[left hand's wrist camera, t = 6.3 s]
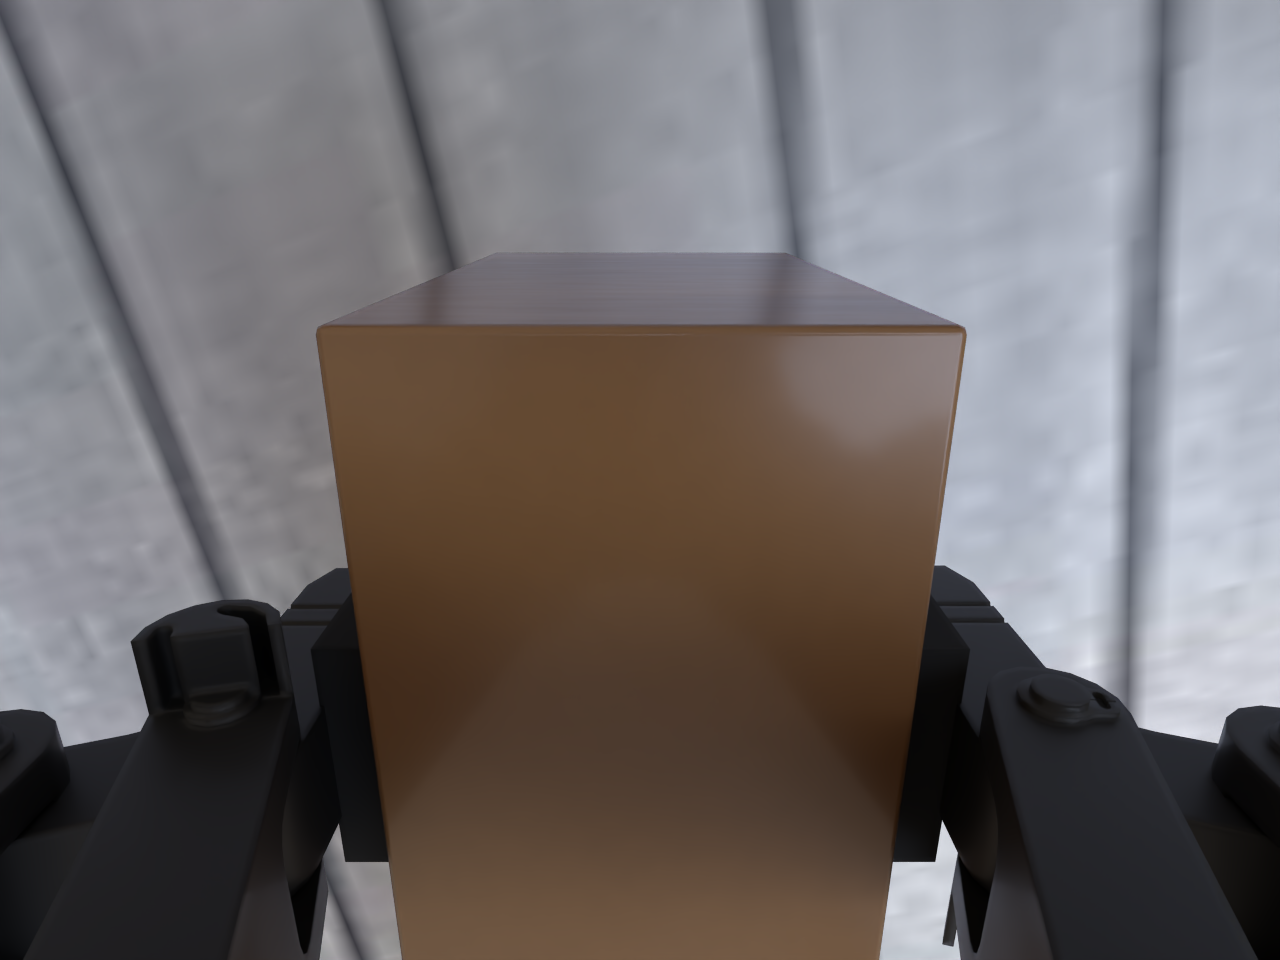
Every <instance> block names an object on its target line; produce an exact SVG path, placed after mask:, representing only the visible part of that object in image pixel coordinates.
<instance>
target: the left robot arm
mask: <svg viewBox="0 0 1280 960" xmlns="http://www.w3.org/2000/svg"><path fill="white" fill-rule="evenodd" d="M131 645H132V649H133V653H134V657H135V661H136V665H137V669H138V673H139V676H140V680H141V684H142V688H143V692H144V696H145V700H146V704H147V708H148V712H149V716H148V718H147V720H146V722H145V724H144V726H143V728H142V730H141V732H137V733H133V734H129V735H124V736H119V737H114V738H109V739H103V740H98V741H93V742H88V743H83V744H78V745H72V746H67V747H63V744H62V741H61V738H60V734H59V731H58V728H57V724H56V721H55V720H53V719H52V718H51V717H49V716H48V715H47V714H45V713H44V712H39V711H31V710H23V709H19V710H10V711H1V712H0V960H319V959H320V951H321V943H322V936H323V928H324V920H325V912H326V905H327V897H328V886H327V879H326V872H325V867H324V861H323V855H324V853H325V851H326V849H327V847H328V845H329V843H330V840H331V838H332V836H333V834H334V832H335V830H336V828H337V826H338V824H339V826H340V832H341V838H342V844H343V850H344V856H345V862H389V860H388V853H387V845H386V838H385V831H384V824H383V816H382V809H381V802H380V795H379V787H378V780H377V773H376V766H375V758H374V751H373V744H372V737H371V729H370V722H369V715H368V708H367V700H366V693H365V686H364V679H363V671H362V664H361V657H360V650H359V642H358V635H357V628H356V621H355V613H354V606H353V599H352V592H351V584H350V577H349V570H348V568H336V569H334V570H332V571H331V572H329V573H327V574H326V575H324V576H322V577H321V578H319V579H317V580H316V581H314V582H312V583H310V584H309V585H307V586H306V588H305V589H304V590H303V591H302V592H301V594H300V595H299V596H298V597H297V598H296V600H295V601H294V602H293V603H292V604H291V609H287V610H286V611H285V613H284V614H283V615H282V616H281V617H280V612H279V611H278V610H276V609H275V608H273V607H272V606H271V605H269V604H268V603H263V602H258V601H253V600H221V601H216V602H211V603H205V604H200V605H195V606H192V607H189V608H186V609H183V610H180V611H178V612H175V613H172V614H169V615H167V616H165V617H163V618H161V619H159V620H158V621H156V622H154V623H152V624H150V625H149V626H147V627H145V628H144V629H143V630H142V631H141V632H140V633H139V634H138V635H137V636H136V637H135V638H134V639H133V640H132V641H131ZM942 820H943V822H944V825H945V827H946V829H947V831H948V833H949V835H950V837H951V839H952V841H953V843H954V845H955V848H956V850H957V852H958V855H957V861H956V867H955V872H954V878H953V884H952V889H951V895H950V901H949V906H948V912H947V918H946V923H945V929H944V936H943V943H942V944H943V945H948V946H954V940H955V935H956V930H957V934H958V941H959V949H960V957H961V960H1280V708H1278V707H1269V706H1254V707H1246V708H1238V709H1237V710H1236V711H1234V712H1233V713H1232V714H1230V715H1229V716H1228V717H1226V720H1225V724H1224V727H1223V730H1222V734H1221V737H1220V740H1219V743H1218V744H1217V743H1212V742H1206V741H1201V740H1196V739H1191V738H1186V737H1180V736H1175V735H1170V734H1165V733H1159V732H1154V731H1150V730H1146V729H1142V728H1138V726H1137V724H1136V722H1135V720H1134V719H1133V717H1132V715H1131V713H1130V712H1129V711H1128V710H1127V708H1126V707H1125V706H1124V705H1123V704H1122V702H1121V701H1120V700H1119V699H1118V698H1117V697H1116V696H1114V695H1112V694H1111V693H1109V692H1108V691H1106V690H1105V689H1103V688H1102V687H1100V686H1099V685H1097V684H1095V683H1093V682H1091V681H1088V680H1086V679H1083V678H1081V677H1078V676H1076V675H1073V674H1071V673H1067V672H1062V671H1058V670H1053V669H1049V668H1046V667H1045V666H1044V665H1043V664H1042V663H1041V662H1040V660H1039V659H1038V658H1037V657H1036V656H1035V654H1034V653H1033V652H1032V651H1031V650H1030V649H1029V647H1028V646H1027V645H1026V644H1025V643H1024V641H1023V640H1022V639H1021V638H1020V637H1019V636H1018V634H1017V633H1016V632H1015V631H1014V630H1013V628H1012V627H1011V626H1010V625H1009V624H1008V623H1004V618H1003V617H1002V616H1001V614H1000V613H999V612H998V611H997V610H996V608H995V607H994V606H990V601H989V600H988V599H987V598H986V597H985V595H984V594H983V593H982V592H981V591H980V590H979V588H978V587H977V586H976V585H975V584H974V582H972V581H970V580H968V579H967V578H965V577H963V576H962V575H960V574H958V573H956V572H955V571H953V570H951V569H950V568H948V567H946V566H934V571H933V579H932V586H931V593H930V600H929V607H928V614H927V621H926V628H925V636H924V643H923V650H922V657H921V664H920V671H919V678H918V685H917V693H916V700H915V707H914V714H913V721H912V728H911V735H910V742H909V750H908V757H907V764H906V771H905V778H904V785H903V792H902V799H901V807H900V814H899V821H898V828H897V835H896V842H895V849H894V856H893V862H935V860H936V854H937V848H938V842H939V836H940V830H941V824H942Z"/></svg>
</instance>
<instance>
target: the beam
mask: <svg viewBox="0 0 1280 960" xmlns="http://www.w3.org/2000/svg"><path fill="white" fill-rule="evenodd" d="M966 336H967V334H966V330H965V327H963V326H960V325H958V324H956V323H953V322H951V321H948V320H946V319H944V318H941V317H939V316H936V315H934V314H931V313H929V312H927V311H924V310H922V309H919V308H917V307H915V306H912V305H910V304H907V303H905V302H903V301H900V300H898V299H895V298H893V297H890V296H888V295H886V294H883V293H881V292H878V291H876V290H874V289H871V288H869V287H866V286H864V285H862V284H859V283H857V282H854V281H852V280H850V279H847V278H845V277H842V276H840V275H837V274H835V273H833V272H830V271H828V270H825V269H823V268H821V267H818V266H816V265H813V264H811V263H809V262H806V261H804V260H801V259H799V258H796V257H794V256H792V255H789V254H787V253H495V254H492V255H490V256H487V257H485V258H483V259H480V260H478V261H475V262H473V263H471V264H468V265H466V266H463V267H461V268H459V269H456V270H454V271H451V272H449V273H447V274H444V275H442V276H439V277H437V278H434V279H432V280H430V281H427V282H425V283H422V284H420V285H418V286H415V287H413V288H410V289H408V290H406V291H403V292H401V293H398V294H396V295H393V296H391V297H389V298H386V299H384V300H381V301H379V302H377V303H374V304H372V305H369V306H367V307H365V308H362V309H360V310H357V311H355V312H353V313H350V314H348V315H345V316H343V317H340V318H338V319H336V320H333V321H331V322H328V323H326V324H324V325H321V326H319V327H318V328H317V332H316V338H317V345H318V353H319V360H320V367H321V374H322V382H323V389H324V396H325V403H326V411H327V418H328V425H329V432H330V440H331V447H332V454H333V461H334V469H335V476H336V483H337V490H338V498H339V505H340V512H341V519H342V527H343V534H344V541H345V548H346V555H347V563H348V570H349V577H350V584H351V592H352V599H353V606H354V613H355V621H356V628H357V635H358V642H359V650H360V657H361V664H362V671H363V679H364V686H365V693H366V700H367V708H368V715H369V722H370V729H371V737H372V744H373V751H374V758H375V766H376V773H377V780H378V787H379V795H380V802H381V809H382V816H383V824H384V831H385V838H386V845H387V853H388V860H389V867H390V874H391V882H392V889H393V896H394V903H395V911H396V918H397V925H398V932H399V940H400V947H401V954H402V960H879V956H880V949H881V942H882V935H883V928H884V920H885V913H886V906H887V899H888V892H889V885H890V878H891V871H892V863H893V856H894V849H895V842H896V835H897V828H898V821H899V814H900V807H901V799H902V792H903V785H904V778H905V771H906V764H907V757H908V750H909V742H910V735H911V728H912V721H913V714H914V707H915V700H916V693H917V685H918V678H919V671H920V664H921V657H922V650H923V643H924V636H925V628H926V621H927V614H928V607H929V600H930V593H931V586H932V579H933V571H934V564H935V557H936V550H937V543H938V536H939V529H940V522H941V514H942V507H943V500H944V493H945V486H946V479H947V472H948V465H949V457H950V450H951V443H952V436H953V429H954V422H955V415H956V408H957V400H958V393H959V386H960V379H961V372H962V365H963V358H964V351H965V343H966Z"/></svg>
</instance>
